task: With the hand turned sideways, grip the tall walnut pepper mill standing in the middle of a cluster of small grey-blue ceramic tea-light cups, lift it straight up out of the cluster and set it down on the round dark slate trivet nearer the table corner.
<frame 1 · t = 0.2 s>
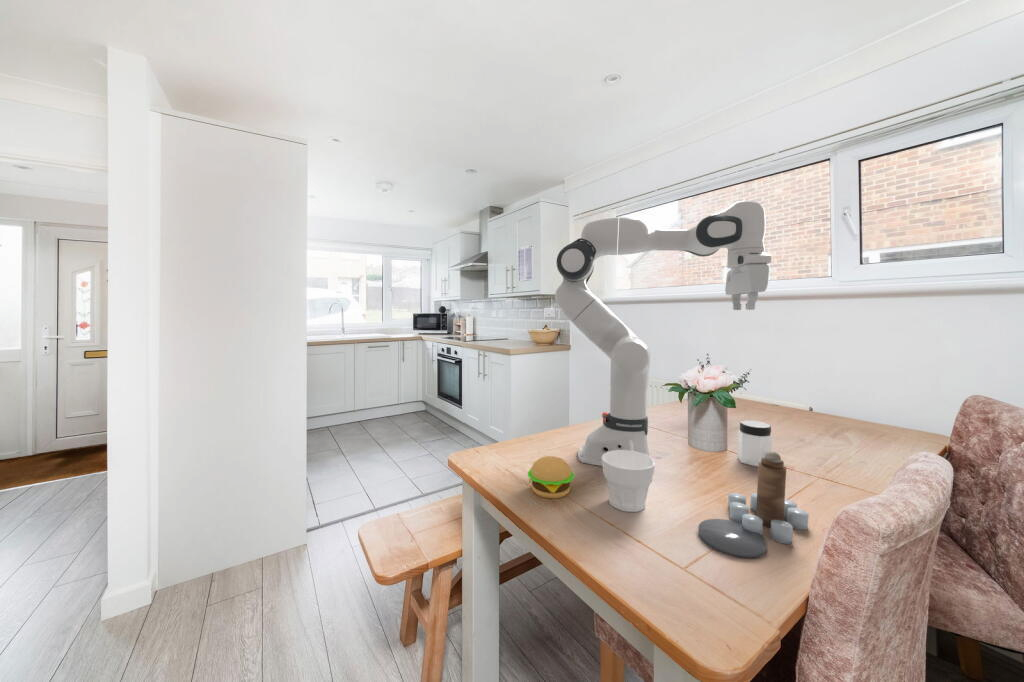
hand: (743, 309, 107), 47 cm above the table, tool pointing down, fingers open, 8 cm apart
hamburger: (550, 491, 98), on the table
pepper mill: (771, 487, 82), in the tealight cups
tealight cups: (769, 522, 83), on the table
jar: (753, 462, 117), on the table
cup: (626, 504, 92), on the table
trivet: (731, 539, 77), on the table
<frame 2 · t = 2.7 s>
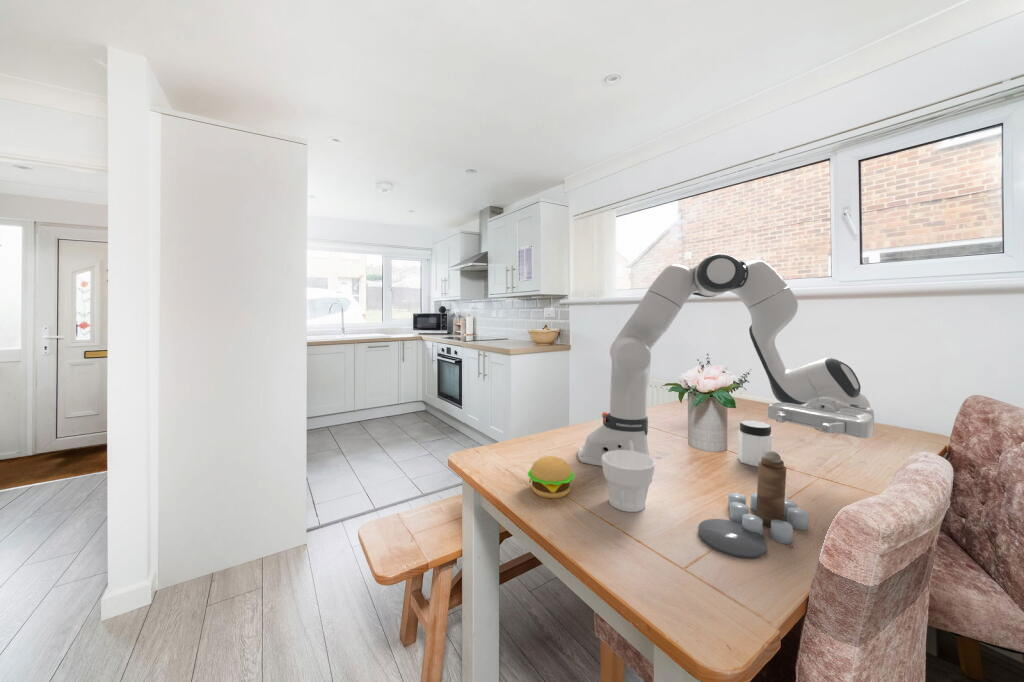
hand: (801, 423, 87), 20 cm above the table, tool horizontal, fingers open, 8 cm apart
nothing on the table moved.
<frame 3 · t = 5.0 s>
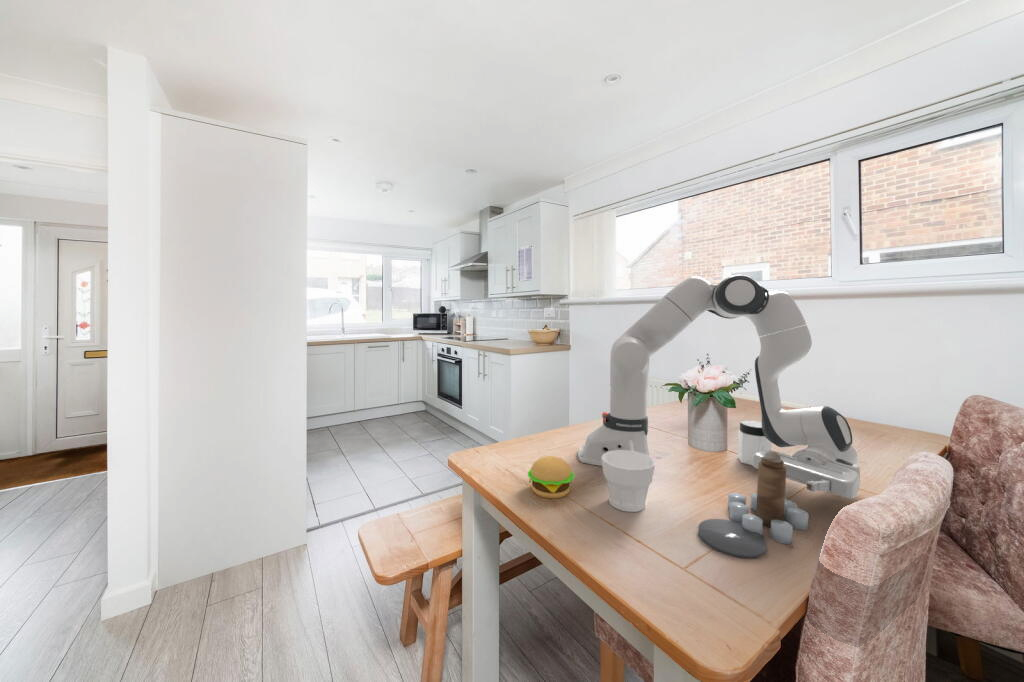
hand: (785, 478, 86), 8 cm above the table, tool horizontal, fingers open, 8 cm apart
nothing on the table moved.
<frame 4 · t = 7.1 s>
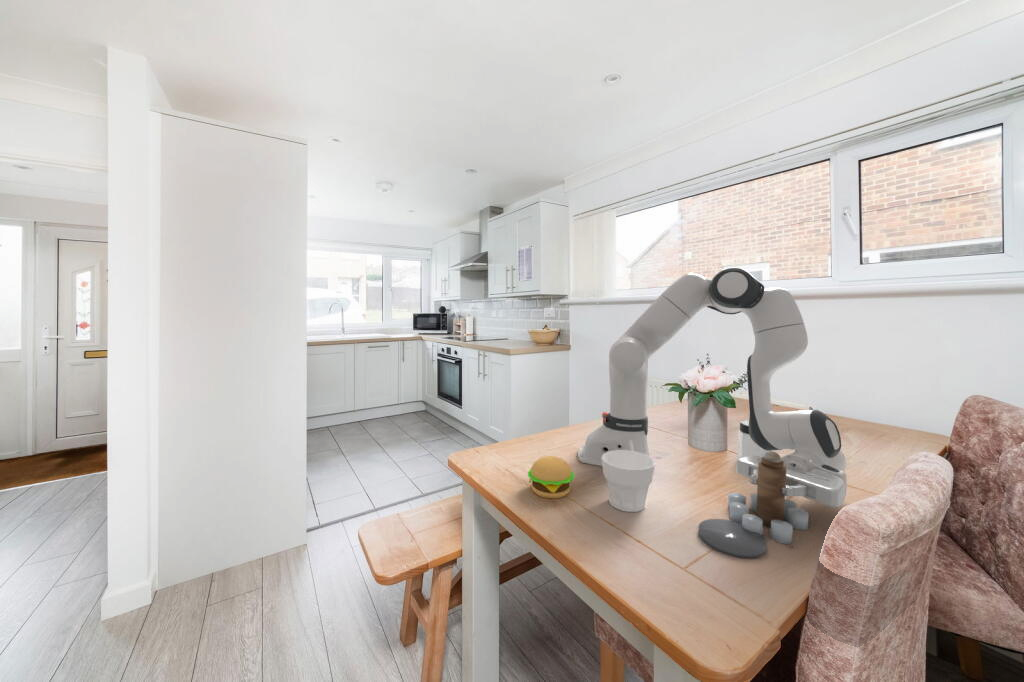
hand: (769, 486, 82), 9 cm above the table, tool horizontal, fingers closed on pepper mill, 5 cm apart
pepper mill: (771, 487, 82), in the tealight cups, touching gripper
everything else where it was.
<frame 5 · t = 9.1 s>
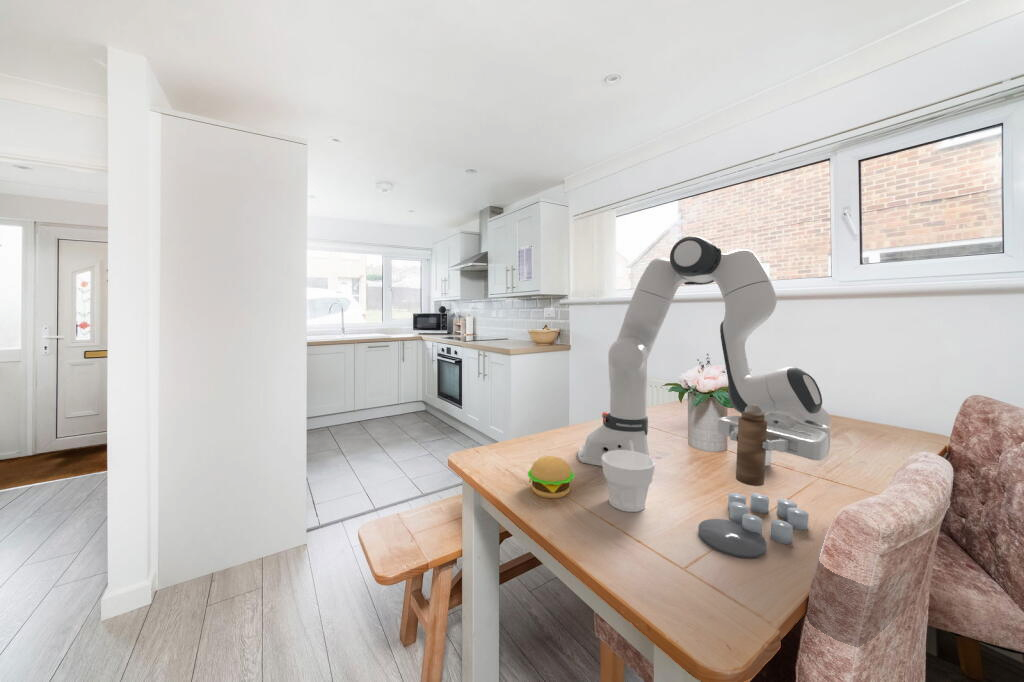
hand: (749, 441, 77), 20 cm above the table, tool horizontal, fingers closed on pepper mill, 5 cm apart
pepper mill: (751, 442, 78), point 19 cm above the table, touching gripper
everything else where it was.
when the fingers open (11 cm above the table, at t = 11.7 s): pepper mill drops 1 cm, resting on trivet.
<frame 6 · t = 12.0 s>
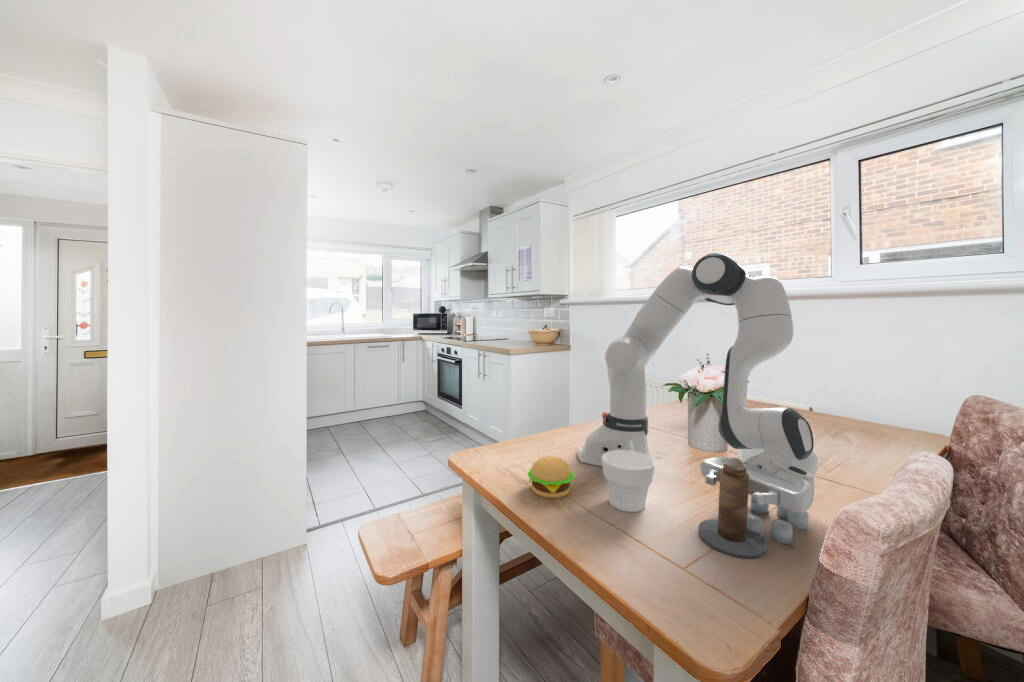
hand: (730, 489, 76), 11 cm above the table, tool horizontal, fingers open, 8 cm apart
pepper mill: (733, 496, 76), on the trivet, point 9 cm above the table
everything else where it was.
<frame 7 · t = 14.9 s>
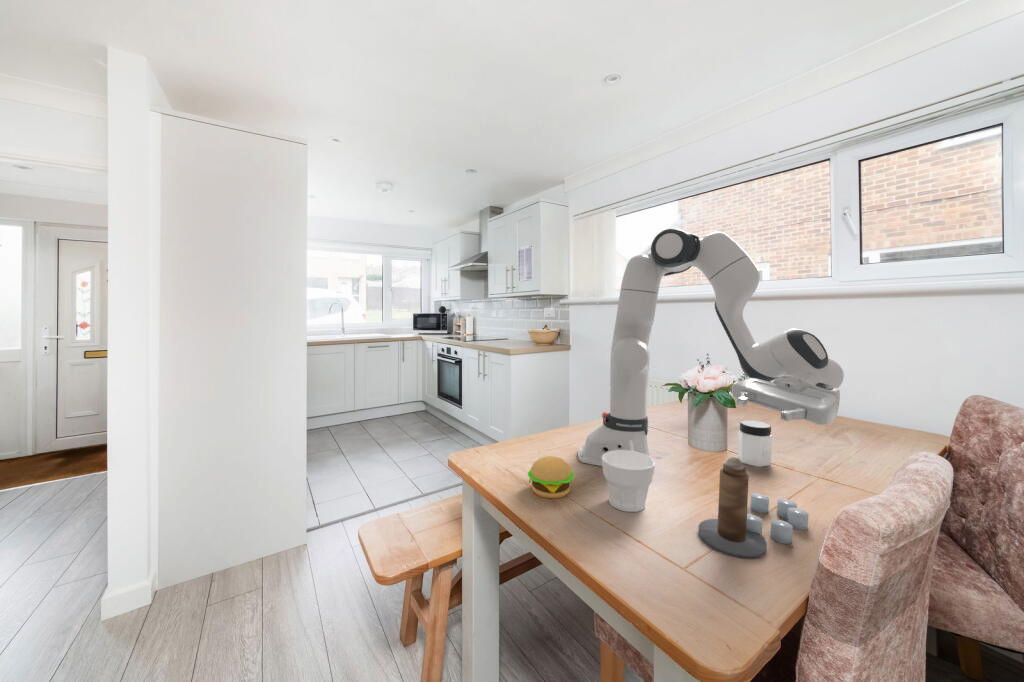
hand: (760, 409, 84), 25 cm above the table, tool horizontal, fingers open, 8 cm apart
nothing on the table moved.
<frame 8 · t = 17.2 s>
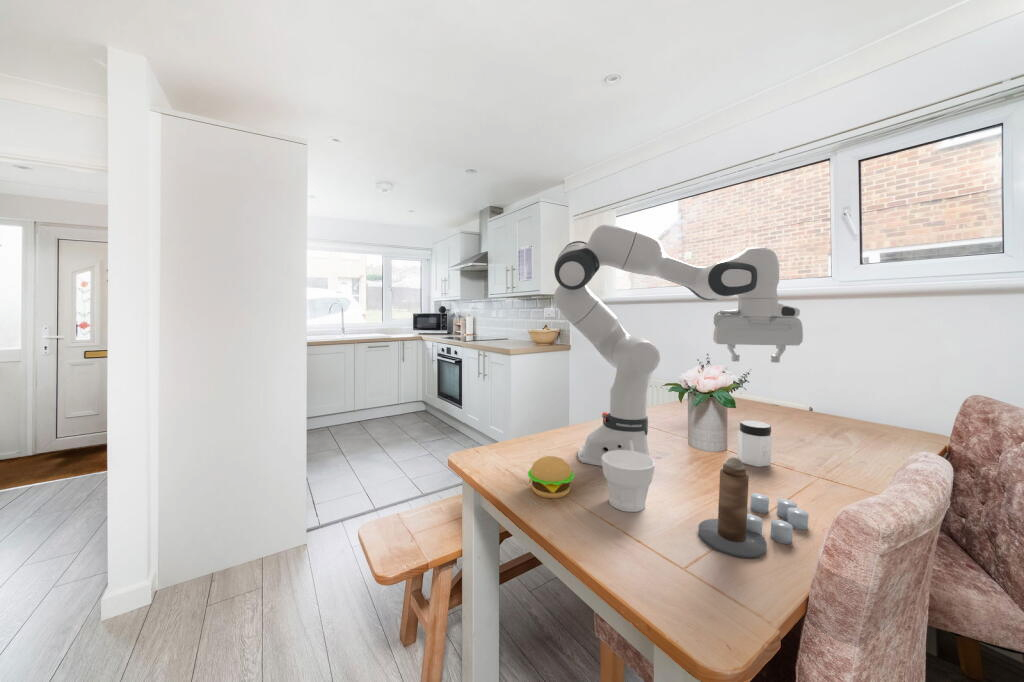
hand: (755, 361, 101), 33 cm above the table, tool pointing down, fingers open, 8 cm apart
nothing on the table moved.
at the end: pepper mill 0.1 cm from the trivet (horizontally); pepper mill tilted 0°; pepper mill point 9.1 cm above the table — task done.
